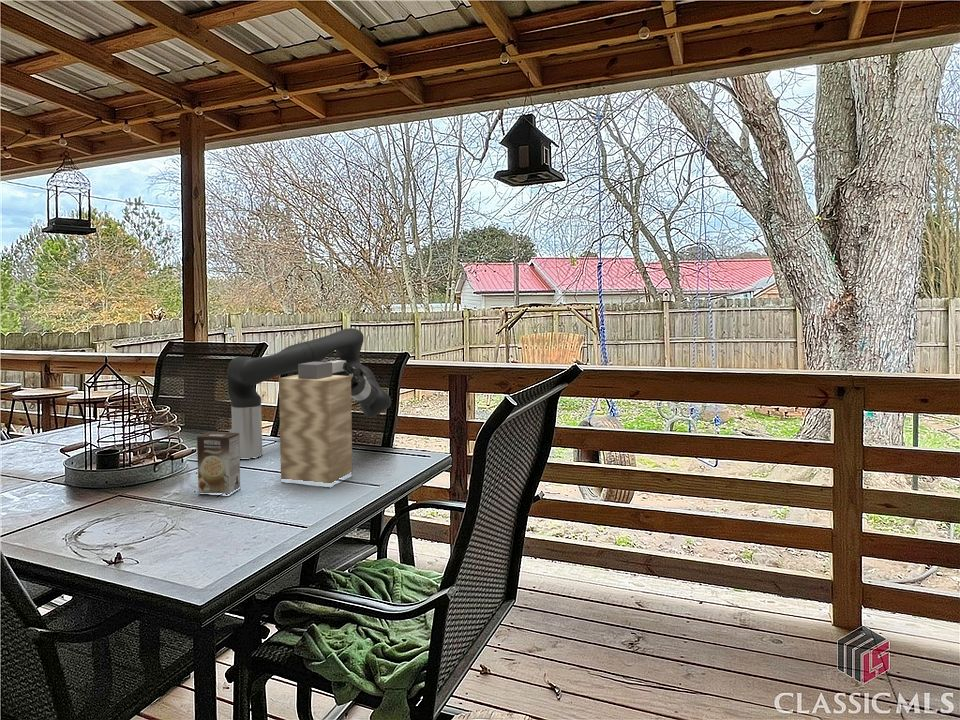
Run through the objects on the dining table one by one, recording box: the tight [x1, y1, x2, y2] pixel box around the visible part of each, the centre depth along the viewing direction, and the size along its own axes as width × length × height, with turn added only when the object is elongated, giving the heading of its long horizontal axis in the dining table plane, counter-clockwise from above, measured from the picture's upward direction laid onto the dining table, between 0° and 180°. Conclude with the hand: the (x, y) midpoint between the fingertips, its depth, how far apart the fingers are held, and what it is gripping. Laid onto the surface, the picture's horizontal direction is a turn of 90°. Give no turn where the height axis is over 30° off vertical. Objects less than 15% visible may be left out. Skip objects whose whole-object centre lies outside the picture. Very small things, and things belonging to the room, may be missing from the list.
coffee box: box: [196, 431, 241, 494], centre depth 163 cm, size 9×6×16 cm
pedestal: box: [278, 374, 353, 483], centre depth 175 cm, size 16×12×30 cm
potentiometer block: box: [297, 359, 346, 379], centre depth 178 cm, size 6×18×4 cm, turn 162°
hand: (331, 364), depth 182 cm, fingers open, 8 cm apart
